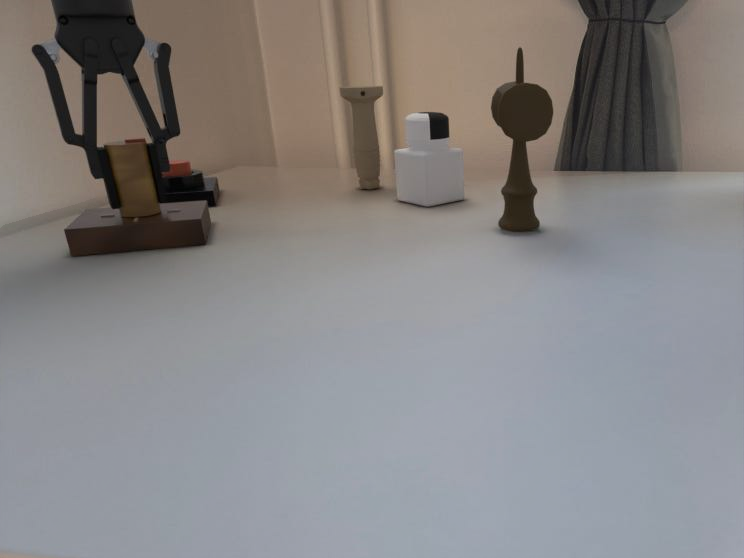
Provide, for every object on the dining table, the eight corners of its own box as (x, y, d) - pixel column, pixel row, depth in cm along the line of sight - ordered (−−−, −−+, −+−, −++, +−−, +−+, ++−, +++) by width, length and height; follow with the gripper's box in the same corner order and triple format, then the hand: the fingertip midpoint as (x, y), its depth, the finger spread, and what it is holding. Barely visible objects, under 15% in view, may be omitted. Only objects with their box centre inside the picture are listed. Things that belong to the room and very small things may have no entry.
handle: (348, 186, 109) (338, 86, 103) (388, 184, 111) (380, 85, 104) (350, 192, 105) (340, 88, 99) (391, 189, 106) (384, 86, 100)
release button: (161, 179, 98) (158, 164, 97) (164, 174, 101) (161, 160, 100) (191, 177, 99) (188, 162, 98) (193, 173, 102) (190, 159, 101)
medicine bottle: (434, 193, 103) (430, 109, 98) (465, 199, 98) (463, 112, 93) (396, 200, 99) (390, 113, 94) (427, 207, 94) (422, 116, 89)
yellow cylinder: (122, 219, 77) (104, 143, 74) (118, 212, 80) (100, 139, 77) (164, 214, 79) (148, 140, 76) (158, 207, 83) (142, 136, 79)
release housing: (140, 211, 95) (134, 182, 93) (152, 195, 106) (146, 169, 104) (215, 205, 98) (210, 177, 96) (219, 190, 108) (215, 165, 106)
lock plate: (71, 256, 74) (63, 228, 73) (92, 233, 84) (85, 207, 83) (205, 244, 78) (200, 217, 77) (211, 223, 88) (206, 198, 86)
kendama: (499, 241, 77) (498, 47, 69) (489, 221, 86) (487, 47, 77) (551, 238, 77) (556, 46, 69) (536, 219, 86) (539, 46, 78)
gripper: (-16, -32, 62) (55, 220, 72) (183, -25, 71) (223, 199, 81) (-15, -24, 68) (51, 208, 78) (170, -19, 77) (208, 190, 86)
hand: (138, 203), depth 79 cm, fingers closed on yellow cylinder, 4 cm apart
